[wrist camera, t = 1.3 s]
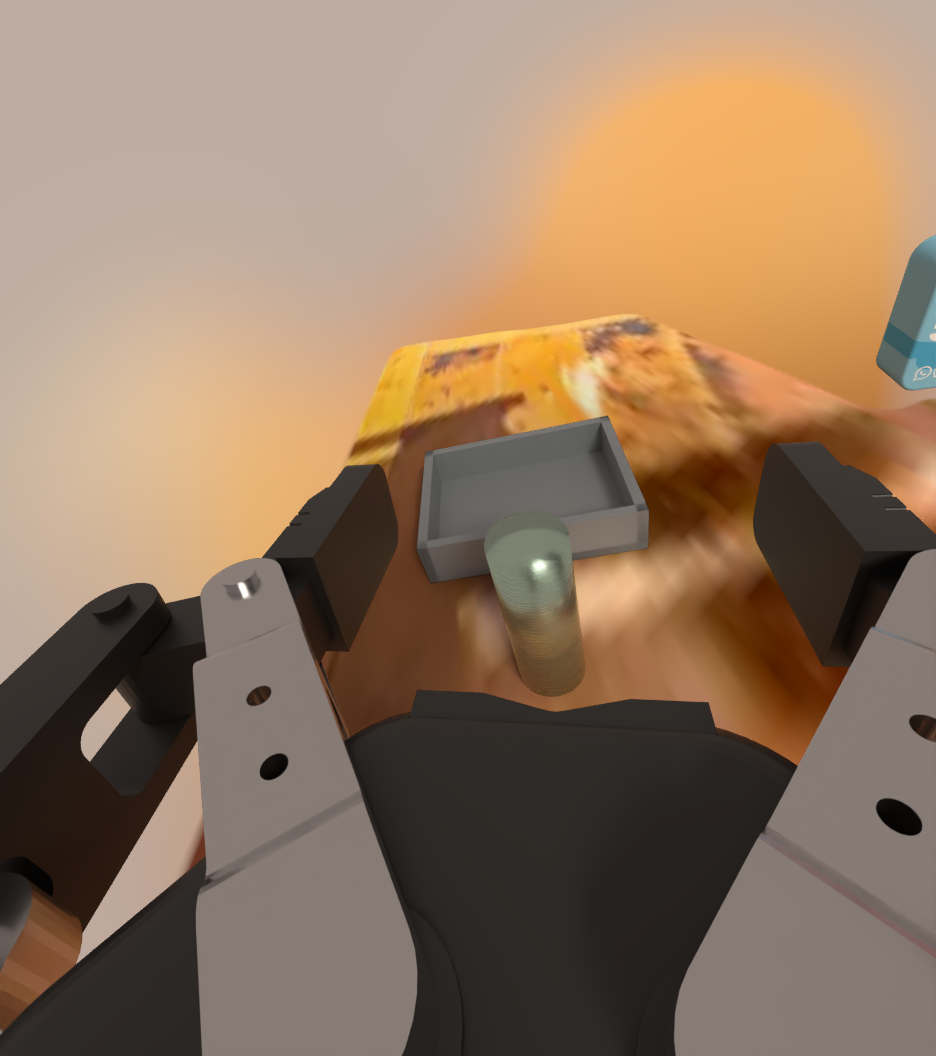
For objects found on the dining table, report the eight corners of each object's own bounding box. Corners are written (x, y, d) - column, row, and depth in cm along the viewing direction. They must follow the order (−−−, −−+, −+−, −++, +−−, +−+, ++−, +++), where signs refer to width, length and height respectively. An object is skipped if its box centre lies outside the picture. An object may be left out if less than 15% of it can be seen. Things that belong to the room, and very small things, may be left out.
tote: (609, 451, 49) (607, 415, 47) (647, 548, 39) (648, 509, 37) (436, 484, 52) (425, 452, 49) (430, 583, 42) (416, 549, 39)
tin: (578, 634, 35) (562, 504, 27) (591, 691, 32) (576, 563, 24) (516, 643, 36) (482, 518, 28) (522, 700, 32) (485, 578, 24)
